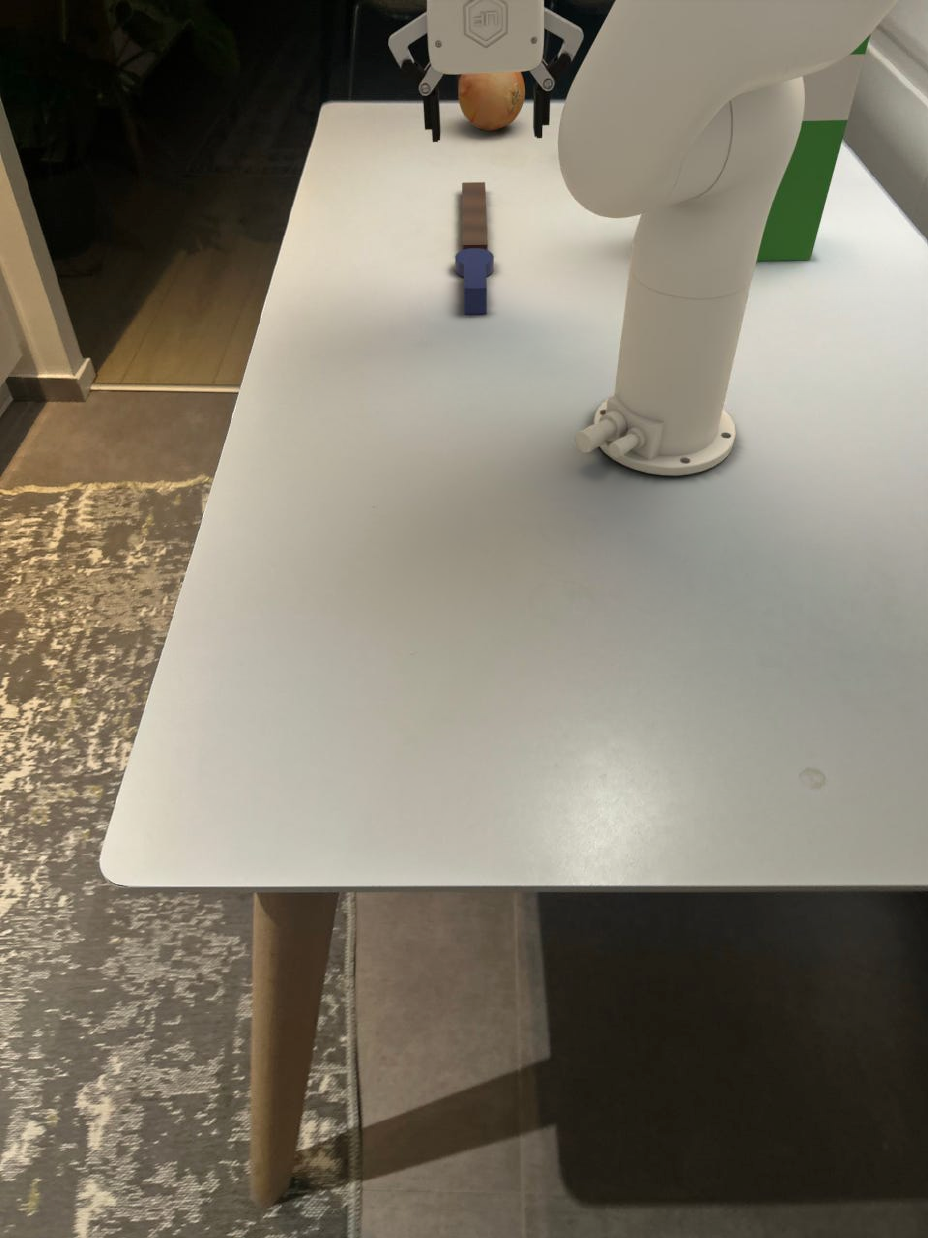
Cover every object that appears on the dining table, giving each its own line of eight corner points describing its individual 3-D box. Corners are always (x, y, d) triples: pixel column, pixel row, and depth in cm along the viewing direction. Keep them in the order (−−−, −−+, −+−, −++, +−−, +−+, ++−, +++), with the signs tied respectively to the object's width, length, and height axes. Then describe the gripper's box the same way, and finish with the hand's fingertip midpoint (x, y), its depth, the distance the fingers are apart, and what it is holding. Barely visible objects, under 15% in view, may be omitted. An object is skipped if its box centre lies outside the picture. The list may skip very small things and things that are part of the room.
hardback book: (657, 263, 106) (692, 23, 89) (647, 234, 111) (678, 2, 94) (810, 259, 106) (874, 18, 89) (793, 231, 111) (851, -2, 94)
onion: (502, 145, 132) (504, 66, 125) (445, 132, 136) (443, 55, 128) (536, 124, 137) (539, 47, 130) (480, 112, 141) (480, 37, 134)
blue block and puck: (496, 314, 99) (496, 287, 97) (455, 314, 99) (454, 288, 97) (493, 260, 108) (493, 235, 105) (455, 261, 108) (454, 235, 105)
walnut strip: (487, 256, 108) (487, 244, 107) (462, 257, 108) (462, 244, 107) (485, 193, 121) (485, 181, 119) (462, 193, 121) (462, 182, 119)
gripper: (375, -78, 73) (394, 152, 85) (594, -87, 72) (581, 145, 85) (381, -93, 78) (398, 125, 90) (585, -102, 78) (574, 119, 90)
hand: (487, 135), depth 87 cm, fingers open, 9 cm apart
